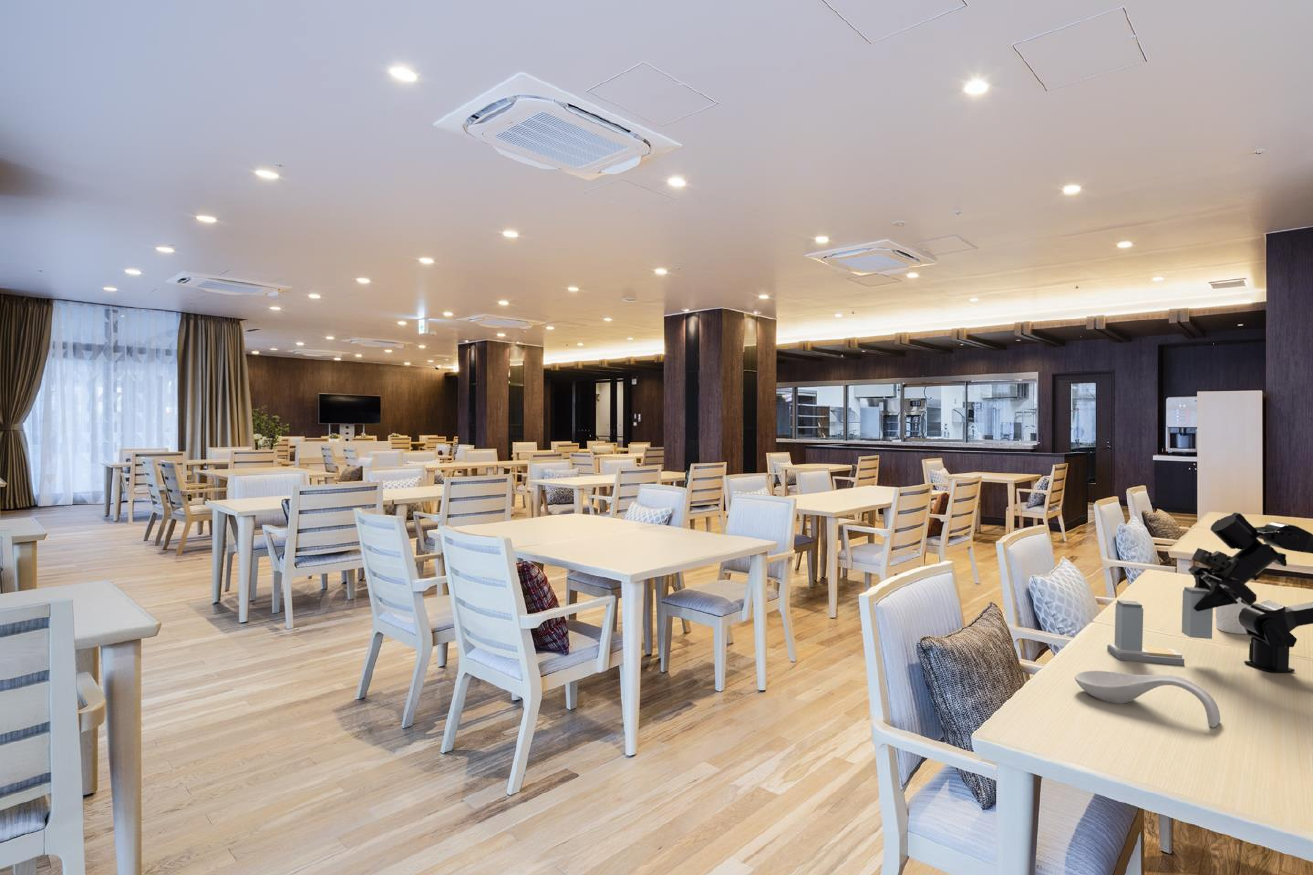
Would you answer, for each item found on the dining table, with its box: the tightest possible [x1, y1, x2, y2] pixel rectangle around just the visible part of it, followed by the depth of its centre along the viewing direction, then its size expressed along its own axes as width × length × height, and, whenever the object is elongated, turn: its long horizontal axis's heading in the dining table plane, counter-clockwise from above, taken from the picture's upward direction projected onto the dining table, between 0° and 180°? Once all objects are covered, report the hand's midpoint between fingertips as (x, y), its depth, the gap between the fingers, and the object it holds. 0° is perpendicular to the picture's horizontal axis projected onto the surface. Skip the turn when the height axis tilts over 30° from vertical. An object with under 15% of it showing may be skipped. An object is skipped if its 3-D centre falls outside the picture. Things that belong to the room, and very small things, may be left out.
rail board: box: [1106, 643, 1185, 666], centre depth 167 cm, size 14×7×2 cm, turn 76°
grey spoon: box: [1074, 670, 1221, 729], centre depth 138 cm, size 24×12×7 cm, turn 42°
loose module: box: [1181, 586, 1214, 640], centre depth 165 cm, size 4×4×11 cm
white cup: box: [1214, 597, 1248, 635], centre depth 192 cm, size 8×8×10 cm
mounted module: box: [1114, 599, 1144, 651], centre depth 168 cm, size 4×4×11 cm
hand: (1190, 607), depth 165 cm, fingers closed on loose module, 4 cm apart
